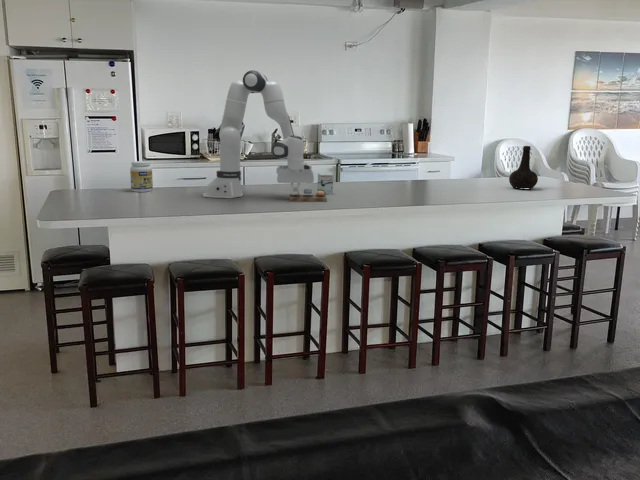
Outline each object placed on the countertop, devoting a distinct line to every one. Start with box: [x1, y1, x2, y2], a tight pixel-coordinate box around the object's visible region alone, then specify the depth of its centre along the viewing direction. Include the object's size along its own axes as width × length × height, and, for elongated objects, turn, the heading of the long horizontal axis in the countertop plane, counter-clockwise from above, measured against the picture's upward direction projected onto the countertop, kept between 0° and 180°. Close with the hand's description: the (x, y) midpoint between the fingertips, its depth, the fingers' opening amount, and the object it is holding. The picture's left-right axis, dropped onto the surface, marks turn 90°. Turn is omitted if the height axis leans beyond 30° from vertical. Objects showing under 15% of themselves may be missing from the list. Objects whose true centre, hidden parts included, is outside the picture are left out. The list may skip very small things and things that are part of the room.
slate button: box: [303, 188, 313, 195], centre depth 332 cm, size 4×4×2 cm
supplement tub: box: [129, 160, 154, 193], centre depth 350 cm, size 12×12×17 cm
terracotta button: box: [315, 190, 325, 196], centre depth 333 cm, size 4×4×2 cm
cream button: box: [290, 190, 300, 195], centre depth 332 cm, size 4×4×2 cm
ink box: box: [316, 172, 334, 195], centre depth 355 cm, size 9×5×12 cm, turn 105°
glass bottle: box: [508, 145, 539, 189], centre depth 392 cm, size 18×18×28 cm
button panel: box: [288, 193, 328, 203], centre depth 333 cm, size 20×12×2 cm, turn 95°
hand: (295, 190), depth 332 cm, fingers closed, pressing on cream button
